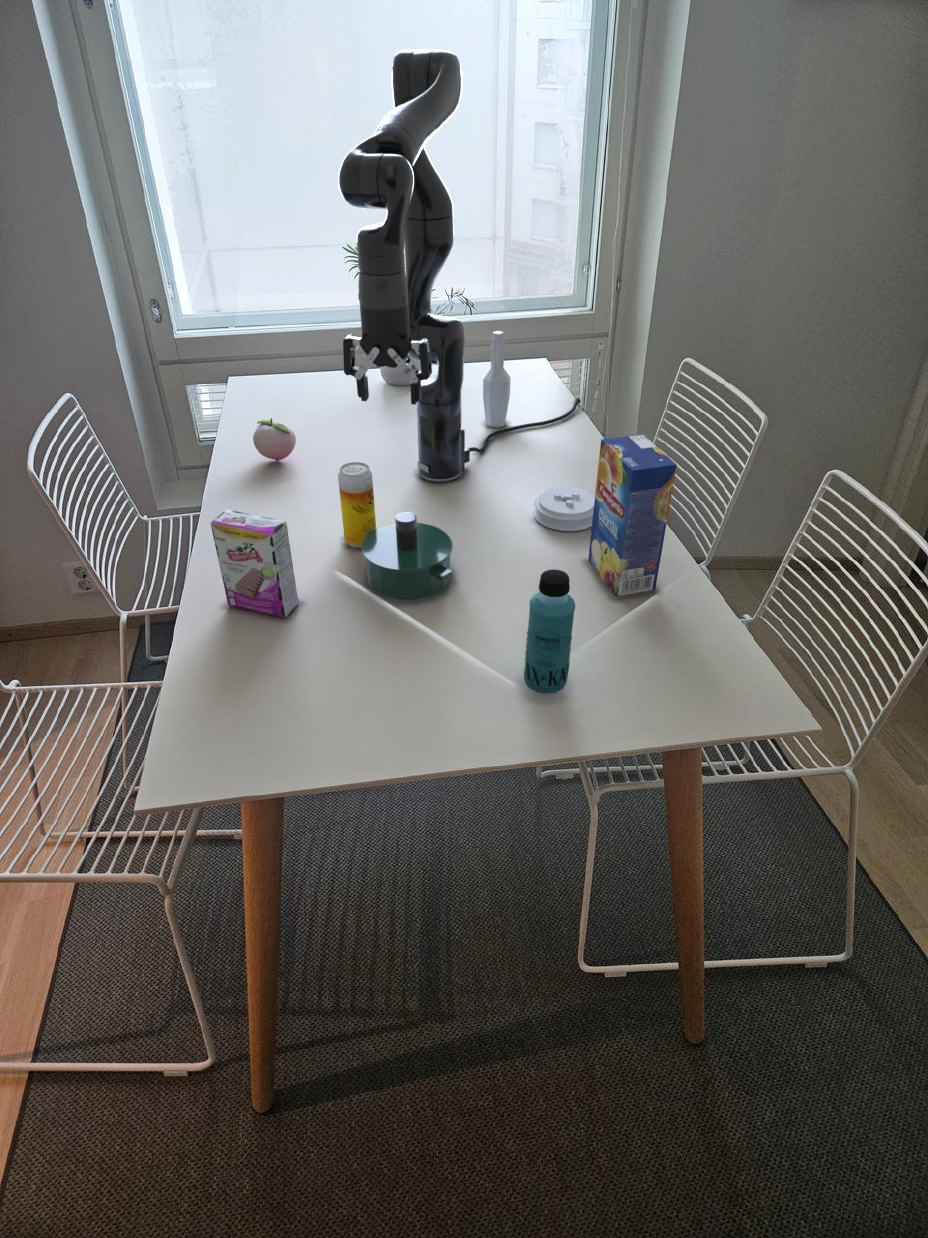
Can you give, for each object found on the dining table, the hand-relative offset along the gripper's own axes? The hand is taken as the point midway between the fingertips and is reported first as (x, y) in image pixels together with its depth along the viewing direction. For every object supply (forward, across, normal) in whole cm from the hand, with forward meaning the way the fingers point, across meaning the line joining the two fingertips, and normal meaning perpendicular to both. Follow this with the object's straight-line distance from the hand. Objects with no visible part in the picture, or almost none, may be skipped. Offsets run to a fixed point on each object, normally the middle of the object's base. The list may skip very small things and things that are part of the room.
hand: (389, 401), depth 134 cm
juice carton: (+28, -42, +4) cm, 50 cm away
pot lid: (+22, -5, +11) cm, 25 cm away
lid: (+28, -30, -15) cm, 44 cm away
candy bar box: (+28, +18, +23) cm, 40 cm away
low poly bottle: (+28, -10, -59) cm, 66 cm away
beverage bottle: (+28, -31, +36) cm, 55 cm away
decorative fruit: (+28, +35, -30) cm, 54 cm away
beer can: (+28, +7, 0) cm, 29 cm away
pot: (+28, -5, +11) cm, 30 cm away
